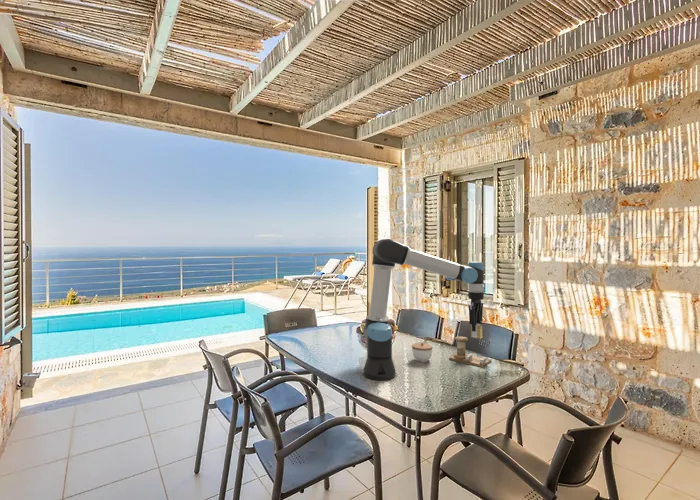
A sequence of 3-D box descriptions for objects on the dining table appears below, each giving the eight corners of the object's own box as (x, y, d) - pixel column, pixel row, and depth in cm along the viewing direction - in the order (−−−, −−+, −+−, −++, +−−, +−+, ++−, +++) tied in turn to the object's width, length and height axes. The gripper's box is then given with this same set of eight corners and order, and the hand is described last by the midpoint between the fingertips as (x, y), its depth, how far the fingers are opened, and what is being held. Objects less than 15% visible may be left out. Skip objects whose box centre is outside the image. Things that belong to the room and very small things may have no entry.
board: (482, 367, 178) (482, 360, 178) (449, 359, 191) (449, 353, 191) (491, 361, 187) (491, 354, 187) (459, 354, 199) (459, 348, 199)
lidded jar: (432, 364, 183) (432, 345, 183) (411, 362, 185) (411, 344, 185) (432, 357, 194) (432, 340, 194) (412, 356, 196) (412, 339, 196)
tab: (480, 338, 181) (479, 327, 181) (470, 337, 184) (470, 325, 184) (482, 337, 183) (482, 326, 183) (473, 336, 186) (473, 324, 186)
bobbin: (464, 359, 187) (465, 340, 187) (450, 356, 192) (450, 338, 192) (471, 356, 192) (471, 337, 192) (457, 353, 198) (457, 335, 198)
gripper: (476, 293, 175) (476, 340, 175) (489, 290, 187) (489, 335, 187) (462, 292, 180) (462, 338, 180) (475, 289, 192) (475, 332, 192)
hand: (475, 336), depth 184 cm, fingers closed on tab, 3 cm apart
